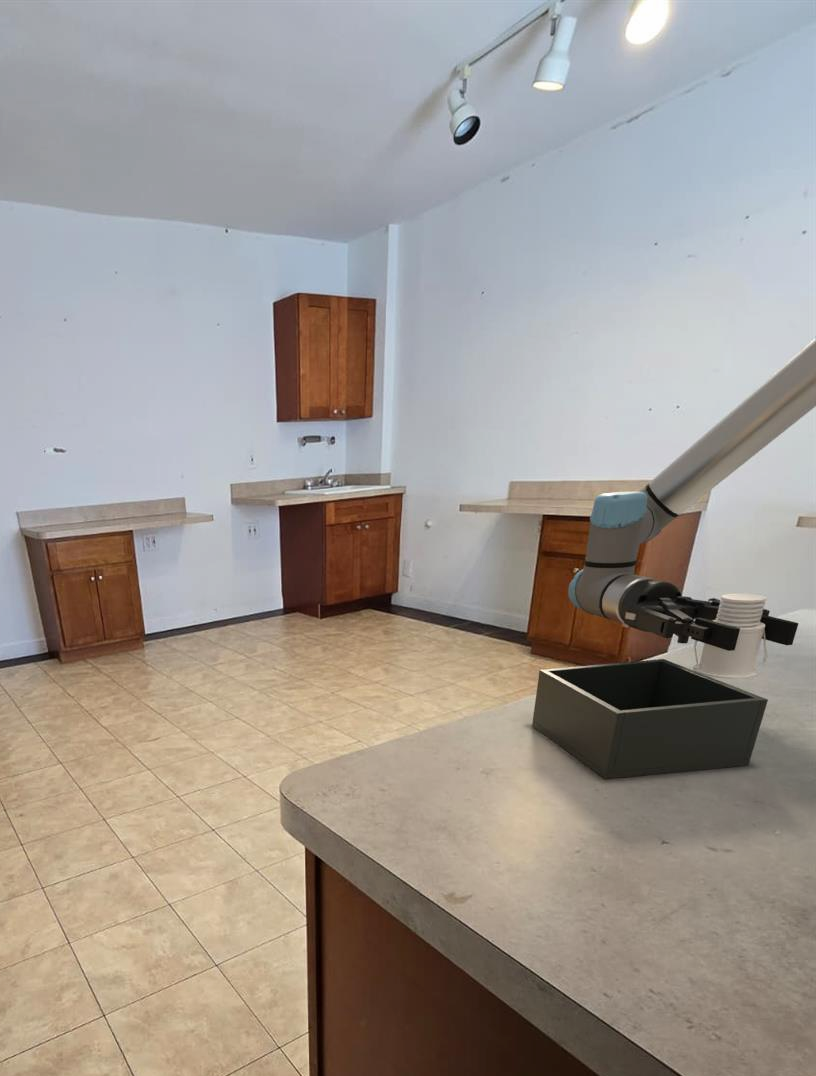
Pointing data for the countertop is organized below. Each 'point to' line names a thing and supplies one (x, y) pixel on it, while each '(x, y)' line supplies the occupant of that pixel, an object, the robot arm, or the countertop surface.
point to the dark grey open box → (647, 718)
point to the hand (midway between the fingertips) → (763, 637)
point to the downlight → (740, 661)
